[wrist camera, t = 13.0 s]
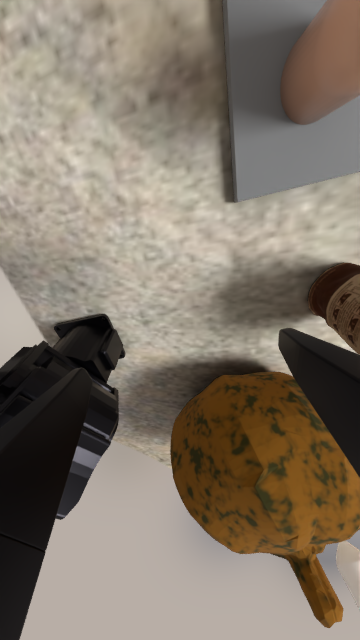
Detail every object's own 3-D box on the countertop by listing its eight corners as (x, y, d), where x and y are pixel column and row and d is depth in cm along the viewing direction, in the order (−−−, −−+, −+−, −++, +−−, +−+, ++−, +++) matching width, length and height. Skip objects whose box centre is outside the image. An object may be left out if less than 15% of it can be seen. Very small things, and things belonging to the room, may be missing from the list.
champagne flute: (309, 480, 48) (413, 684, 27) (332, 481, 49) (449, 680, 28) (296, 490, 51) (379, 680, 31) (318, 491, 52) (413, 676, 32)
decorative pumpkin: (166, 350, 24) (198, 704, 7) (316, 342, 26) (594, 590, 10) (166, 432, 35) (179, 648, 18) (272, 421, 37) (368, 601, 21)
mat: (234, 202, 17) (237, 202, 16) (219, -41, 11) (223, -63, 10) (365, 169, 16) (376, 167, 15) (429, -115, 10) (453, -146, 9)
